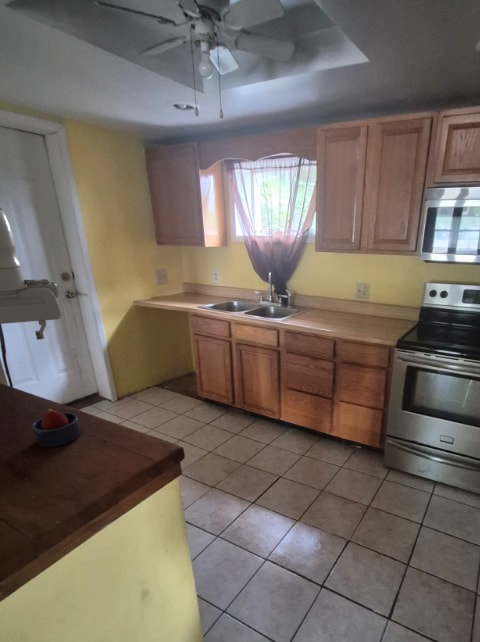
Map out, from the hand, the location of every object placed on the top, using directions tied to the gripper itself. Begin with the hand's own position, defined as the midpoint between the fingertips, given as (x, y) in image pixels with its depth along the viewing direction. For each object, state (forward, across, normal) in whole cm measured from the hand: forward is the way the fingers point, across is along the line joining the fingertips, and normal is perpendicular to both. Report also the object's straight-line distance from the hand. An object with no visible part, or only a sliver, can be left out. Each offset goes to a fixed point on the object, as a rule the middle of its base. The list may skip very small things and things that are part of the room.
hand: (16, 341), depth 87 cm
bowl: (+26, -4, +3) cm, 26 cm away
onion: (+25, -4, +3) cm, 26 cm away
